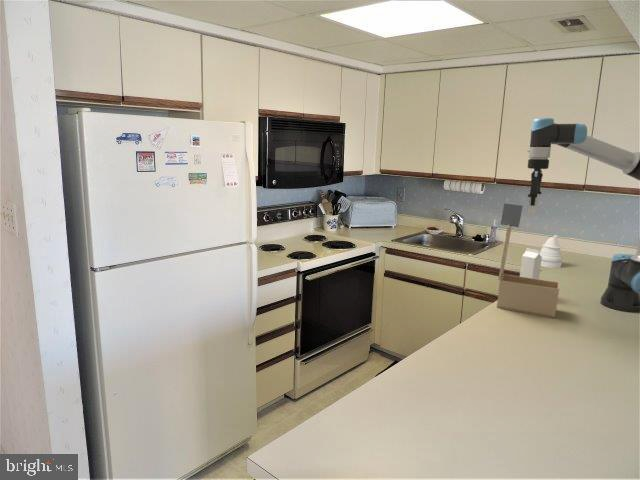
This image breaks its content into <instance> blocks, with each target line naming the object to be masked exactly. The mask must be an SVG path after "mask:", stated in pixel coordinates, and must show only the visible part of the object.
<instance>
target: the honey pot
mask: <svg viewBox="0 0 640 480" xmlns="http://www.w3.org/2000/svg"><path fill="white" fill-rule="evenodd" d="M558 238H559V235H555V234H554V235H553V236H551V237H549V238H548V239H547V240H546V241H545V242H544V243H543V244H542V247H541V249H540V250H539V254H540V255H541V256H542V259H541V266H540V267H544V268H548V269H549V268H551V269H560V268H562V263H563V262H562V261H563V257H562V252H561V249H562V245H560V244H559V242H558Z"/></svg>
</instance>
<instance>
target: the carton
mask: <svg viewBox="0 0 640 480" xmlns="http://www.w3.org/2000/svg"><path fill="white" fill-rule="evenodd" d="M559 292H560V282H559V281H551V280H546V279H545V280H544V279H540V278H539V279H533V278H526V277H520V275H511V274H505V273H503V275H502V277H501V279H500V280H499V285H498V294H497V303H496V308H497V309H503V310H507V311H508V310H510V311H514V312H520V313H525V314H530V313H531V314H530V315H536V314H537V316H541V315H542V316H543V317H548V318H551V319H553V318H554V319H556V314H557V313H556V312H557V306H558V301H559V300H558V299H559Z"/></svg>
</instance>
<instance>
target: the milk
mask: <svg viewBox="0 0 640 480" xmlns="http://www.w3.org/2000/svg"><path fill="white" fill-rule="evenodd" d="M539 252H540V250H538V249H534V248H529V247H527V248H526V250H525V252H523V254H522V256H521V263H520V271H519V272H520V273H519V276H520V277H526V278H533V279H540V271H541V267H542V266H541V259H542V256H541V255H540V254H539Z"/></svg>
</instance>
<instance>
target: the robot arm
mask: <svg viewBox="0 0 640 480" xmlns="http://www.w3.org/2000/svg"><path fill="white" fill-rule="evenodd" d="M529 142H530V143H529V144H530V145H529V149H528V150H527V152H528V158H529V159H528V160H527V168H528V169H532V170H533V171H532V173H531V174H530V175H531V177H530V179H531V180H530V183H531V184H530V192H529V194H527V198H529V199H528V206H527V207H528V208H527V214H528V215H536V212H537V211H538V210H539V204H540V203H539V201H540V195H542V191H541V183H542V181H543V177H544V176H543V175H544V174H543V171H542V170H547V169H548V168H549V165H550V160H549V158H551V150H552V145H555V146H556V145H557V146H559V147H562V148H565V149H567V150H570V151H573V152H575V153H578V154H579V155H583V156H585V157H588V158H591V159H593V160H595V161H598V162H600V163H603V164H606V165H608V166H611V167H613V168H616V169H619V170H621V171H622V173H623V174H625V175H627V176H629V177H631V178H633V179H635V180H638V181H640V152H639V151H635V152H631V151H629V150H626V149H624V148H621V147H618V146H615V145H613V144H611V143H608V142H605V141H602V140H601V139H598V138H595V137H593V136H589V135H588V127H587V125H586V124H585V123H578V122H577V123H555V119H554V118H552V117H550V118H549V117H541V118H540V117H539V118H538V117H537V118H534V119H533V120H532V125H531V130H530V141H529ZM610 265H611V266H610V271H609V277H608V284H607V287H606V289H605V290H604V292H603V293H602V295H601V297H600V304H602V306H604V307H607V308H609V309H613V310H616V311H622V312H630V313H632V312H633V313H636V312H640V238H639V240H638V244H637V248H636V253H635V254H628V253H627V254H626V253H615V254H614V255H612V259H611V264H610Z"/></svg>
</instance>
